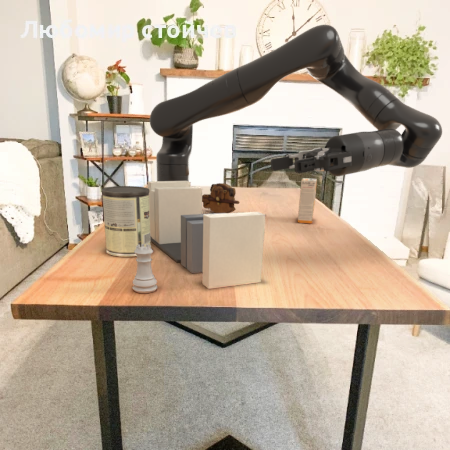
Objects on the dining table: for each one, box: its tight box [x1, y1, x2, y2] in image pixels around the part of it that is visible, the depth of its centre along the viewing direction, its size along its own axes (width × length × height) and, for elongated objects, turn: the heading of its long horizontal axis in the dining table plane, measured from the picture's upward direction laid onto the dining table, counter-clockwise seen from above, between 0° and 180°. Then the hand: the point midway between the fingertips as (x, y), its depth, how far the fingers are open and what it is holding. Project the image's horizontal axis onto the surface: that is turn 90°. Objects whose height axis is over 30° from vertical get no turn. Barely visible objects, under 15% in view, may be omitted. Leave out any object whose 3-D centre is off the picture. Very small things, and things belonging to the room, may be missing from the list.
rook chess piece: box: [131, 244, 158, 294], centre depth 77 cm, size 4×4×8 cm
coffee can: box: [101, 185, 152, 258], centre depth 100 cm, size 10×10×14 cm
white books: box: [147, 180, 203, 263], centre depth 105 cm, size 25×12×14 cm, turn 25°
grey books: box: [180, 212, 223, 274], centre depth 91 cm, size 6×10×10 cm, turn 115°
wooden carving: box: [202, 182, 240, 213], centre depth 148 cm, size 16×5×10 cm, turn 49°
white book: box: [201, 211, 267, 290], centre depth 81 cm, size 3×11×13 cm, turn 115°
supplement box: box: [297, 177, 318, 224], centre depth 141 cm, size 8×5×13 cm, turn 168°
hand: (283, 166), depth 82 cm, fingers open, 8 cm apart
